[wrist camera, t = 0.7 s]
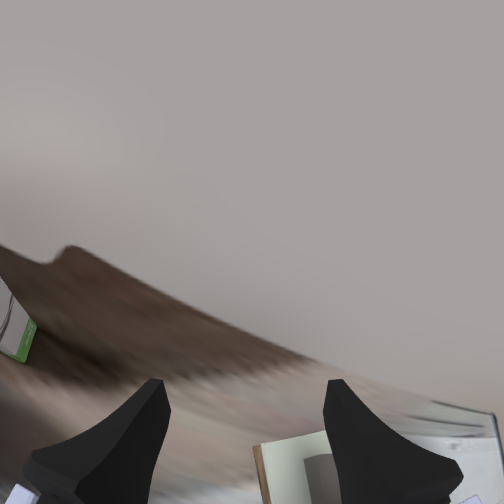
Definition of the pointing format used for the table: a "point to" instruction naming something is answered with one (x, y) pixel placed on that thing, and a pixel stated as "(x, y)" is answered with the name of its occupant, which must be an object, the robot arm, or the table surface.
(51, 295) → the table surface
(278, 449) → the lid
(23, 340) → the ink box
